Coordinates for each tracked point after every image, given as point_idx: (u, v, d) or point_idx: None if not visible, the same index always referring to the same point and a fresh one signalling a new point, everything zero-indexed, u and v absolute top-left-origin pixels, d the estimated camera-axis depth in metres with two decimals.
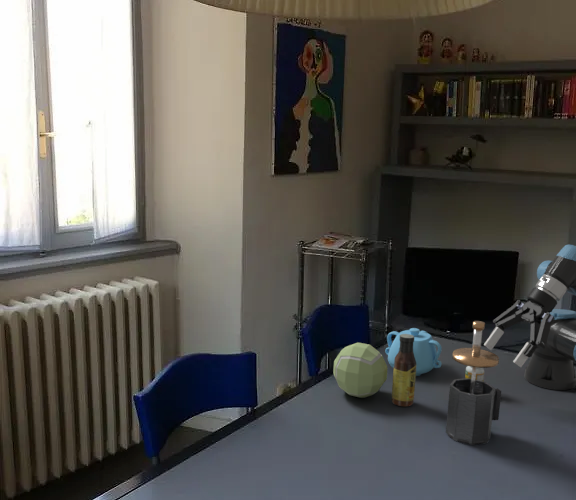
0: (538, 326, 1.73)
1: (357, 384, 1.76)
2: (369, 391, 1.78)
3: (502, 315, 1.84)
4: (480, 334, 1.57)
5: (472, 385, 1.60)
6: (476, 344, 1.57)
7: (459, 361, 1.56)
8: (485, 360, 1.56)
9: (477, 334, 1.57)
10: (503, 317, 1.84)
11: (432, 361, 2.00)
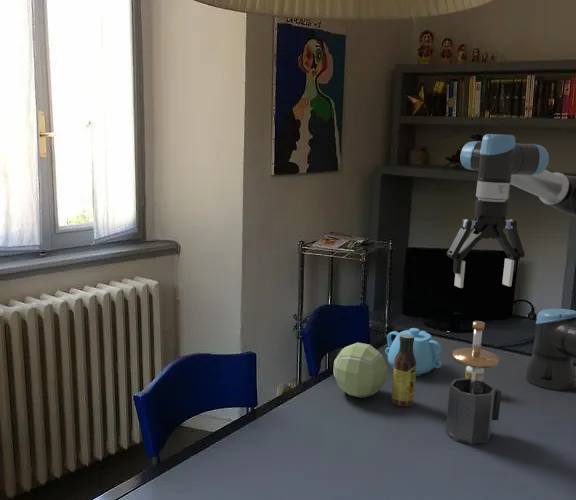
0: None
1: (357, 384, 1.76)
2: (369, 391, 1.78)
3: (460, 246, 1.50)
4: (480, 334, 1.57)
5: (472, 385, 1.60)
6: (476, 344, 1.57)
7: (459, 361, 1.56)
8: (485, 360, 1.56)
9: (477, 334, 1.57)
10: None
11: (432, 361, 2.00)
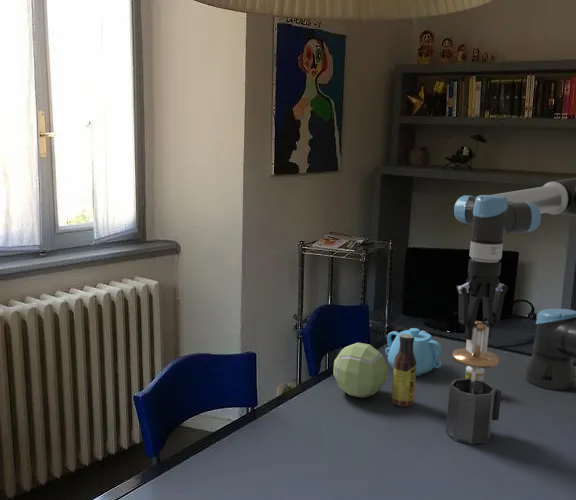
0: None
1: (357, 384, 1.76)
2: (369, 391, 1.78)
3: (466, 312, 1.54)
4: (480, 334, 1.57)
5: (472, 385, 1.60)
6: (476, 344, 1.57)
7: (459, 361, 1.56)
8: (485, 360, 1.56)
9: (477, 334, 1.57)
10: None
11: (432, 361, 2.00)
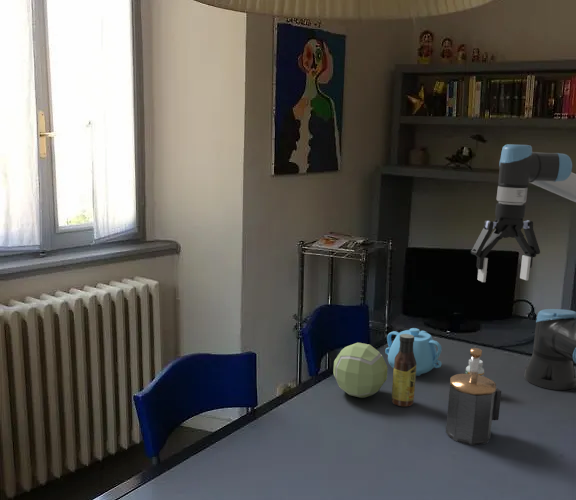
0: None
1: (357, 384, 1.76)
2: (369, 391, 1.78)
3: (483, 244, 1.68)
4: (477, 361, 1.58)
5: None
6: (473, 371, 1.59)
7: (456, 388, 1.57)
8: (482, 387, 1.57)
9: (474, 361, 1.58)
10: None
11: (432, 361, 2.00)
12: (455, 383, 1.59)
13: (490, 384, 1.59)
